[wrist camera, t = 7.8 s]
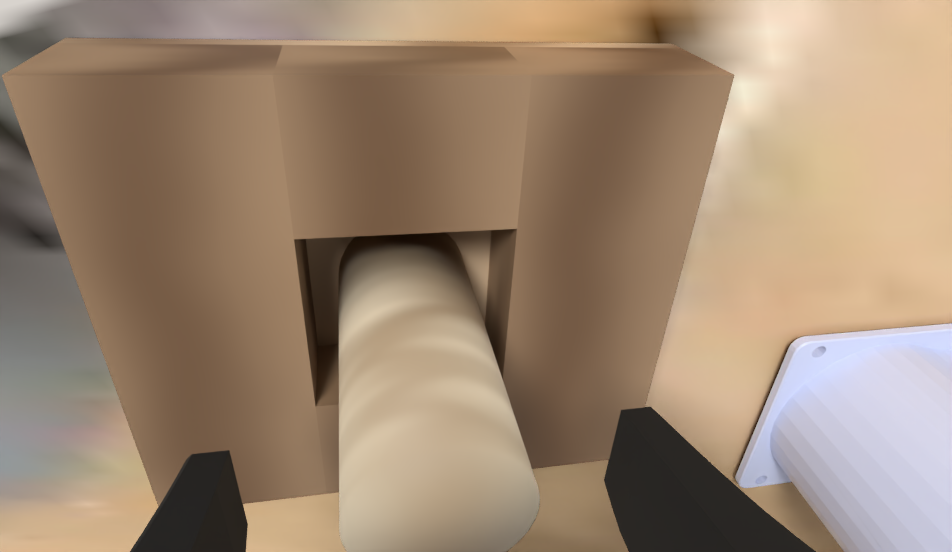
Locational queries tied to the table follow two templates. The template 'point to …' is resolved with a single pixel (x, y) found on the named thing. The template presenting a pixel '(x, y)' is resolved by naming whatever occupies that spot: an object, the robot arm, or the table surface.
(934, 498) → the robot arm
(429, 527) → the dowel
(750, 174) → the table surface
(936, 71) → the table surface
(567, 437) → the socket block
